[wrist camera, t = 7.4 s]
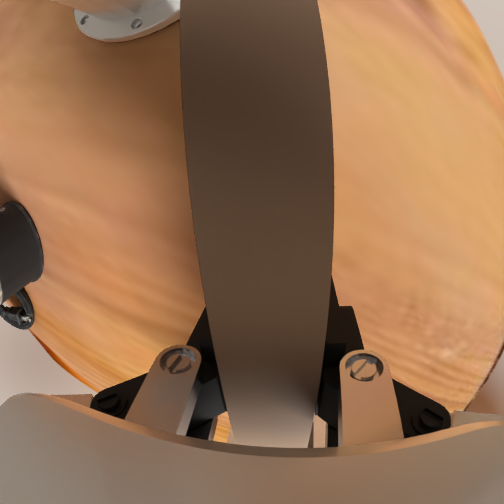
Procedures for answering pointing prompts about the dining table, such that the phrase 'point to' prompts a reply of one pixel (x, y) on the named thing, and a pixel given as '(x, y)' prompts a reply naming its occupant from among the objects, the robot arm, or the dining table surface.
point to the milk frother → (18, 262)
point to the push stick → (261, 204)
